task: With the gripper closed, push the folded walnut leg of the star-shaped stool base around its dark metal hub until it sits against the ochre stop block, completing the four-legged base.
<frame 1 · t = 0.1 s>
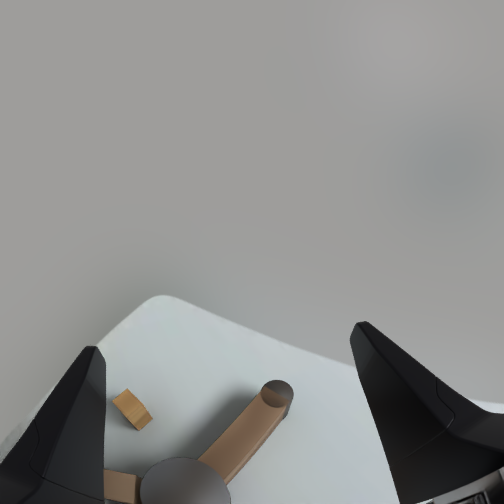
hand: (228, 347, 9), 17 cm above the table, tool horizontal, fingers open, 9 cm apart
stool base: (191, 499, 16), on the table
folding leg: (89, 480, 14), point 2 cm above the table, hinge at 40.0°
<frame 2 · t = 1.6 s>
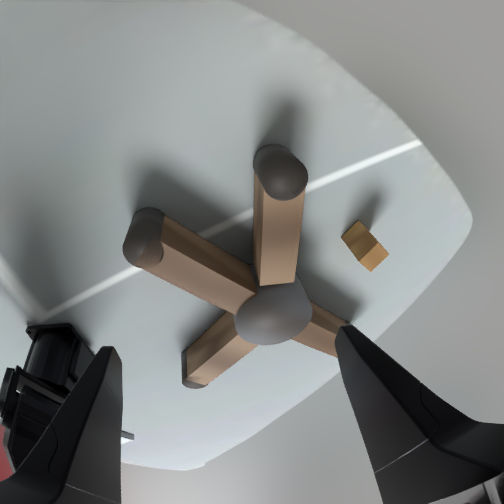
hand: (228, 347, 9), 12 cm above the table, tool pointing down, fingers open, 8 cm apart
hard drive: (100, 431, 41), on the table
stool base: (265, 289, 25), on the table
folding leg: (276, 216, 19), point 2 cm above the table, hinge at 40.0°
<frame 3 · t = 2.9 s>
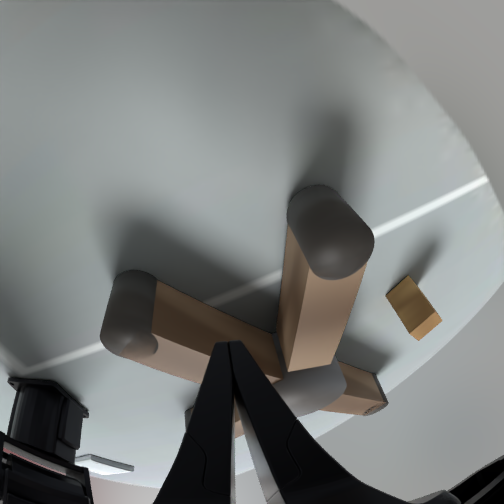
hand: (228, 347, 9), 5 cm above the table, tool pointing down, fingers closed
hard drive: (98, 460, 36), on the table
stool base: (287, 355, 19), on the table
folding leg: (316, 288, 13), point 2 cm above the table, hinge at 40.0°
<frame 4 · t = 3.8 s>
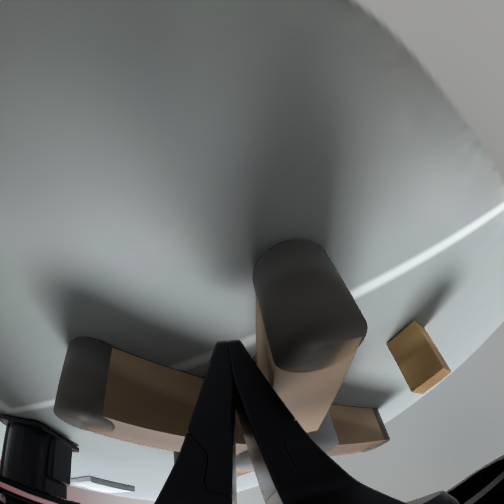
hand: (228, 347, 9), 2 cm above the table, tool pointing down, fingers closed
hard drive: (100, 480, 33), on the table
stool base: (275, 406, 16), on the table
folding leg: (295, 363, 10), point 2 cm above the table, hinge at 40.0°, touching gripper
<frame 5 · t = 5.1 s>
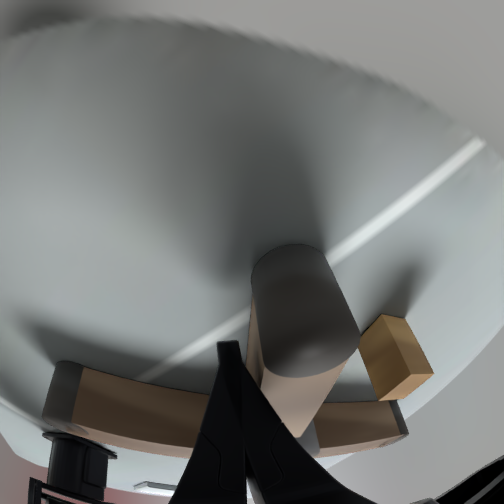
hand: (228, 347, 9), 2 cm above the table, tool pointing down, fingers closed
hard drive: (160, 484, 39), on the table
stool base: (260, 409, 16), on the table
folding leg: (285, 367, 10), point 2 cm above the table, hinge at 19.4°, touching gripper
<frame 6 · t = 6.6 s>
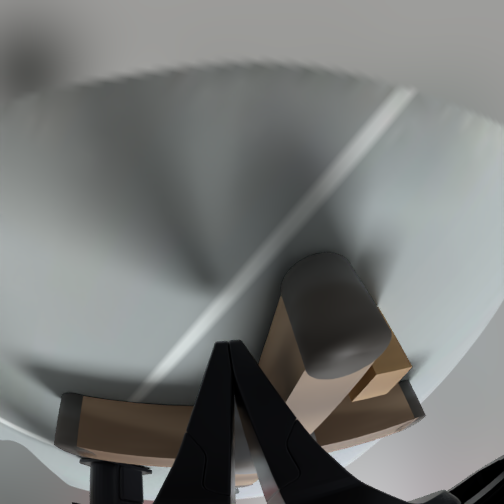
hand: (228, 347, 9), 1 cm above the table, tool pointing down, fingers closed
stool base: (257, 412, 16), on the table
folding leg: (303, 370, 10), point 2 cm above the table, hinge at 1.4°
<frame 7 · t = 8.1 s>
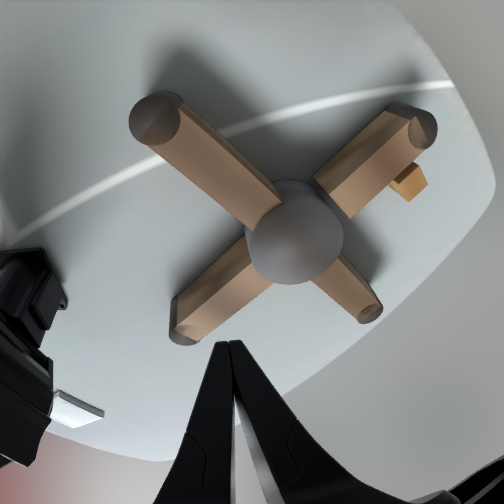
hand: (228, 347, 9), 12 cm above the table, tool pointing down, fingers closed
hard drive: (68, 406, 35), on the table
stool base: (284, 218, 21), on the table
folding leg: (378, 152, 17), point 2 cm above the table, hinge at 1.4°
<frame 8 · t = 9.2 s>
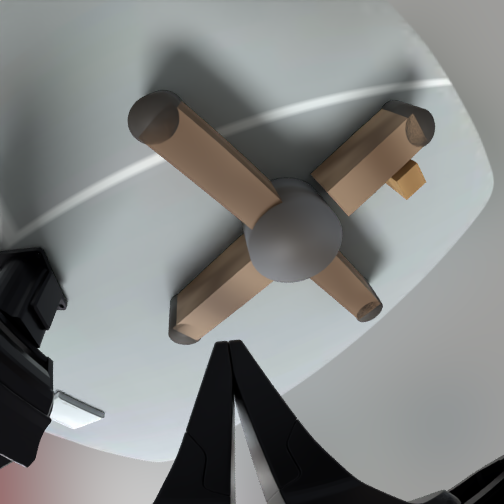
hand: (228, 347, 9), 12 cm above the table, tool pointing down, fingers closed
hard drive: (68, 407, 35), on the table
stool base: (283, 217, 21), on the table
folding leg: (376, 150, 17), point 2 cm above the table, hinge at 1.4°
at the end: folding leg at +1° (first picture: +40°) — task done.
